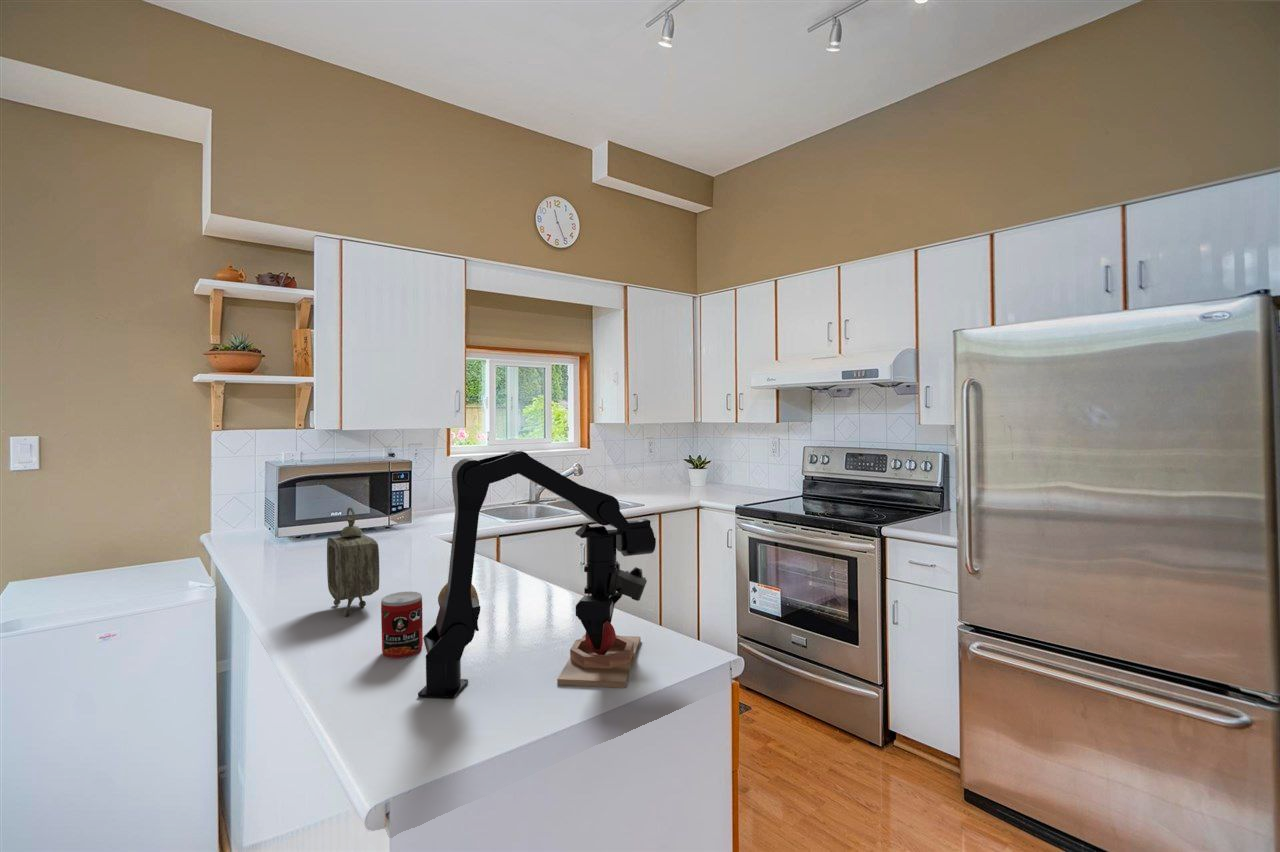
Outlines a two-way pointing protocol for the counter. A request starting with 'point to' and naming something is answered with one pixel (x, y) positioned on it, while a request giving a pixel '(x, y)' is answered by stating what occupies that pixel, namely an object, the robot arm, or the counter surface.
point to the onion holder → (600, 664)
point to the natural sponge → (443, 590)
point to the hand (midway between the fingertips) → (602, 639)
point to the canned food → (401, 624)
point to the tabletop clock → (352, 565)
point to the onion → (603, 640)
